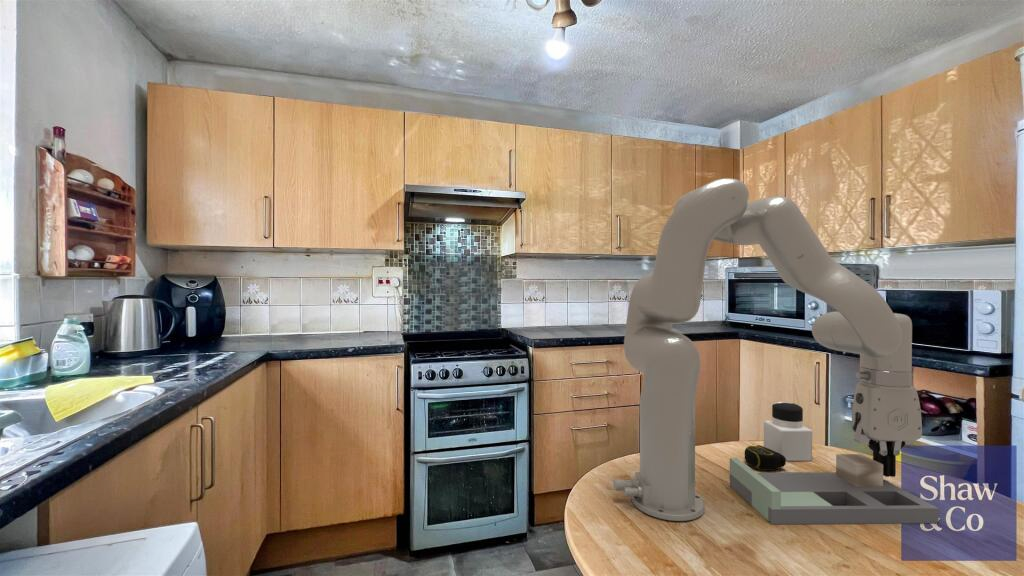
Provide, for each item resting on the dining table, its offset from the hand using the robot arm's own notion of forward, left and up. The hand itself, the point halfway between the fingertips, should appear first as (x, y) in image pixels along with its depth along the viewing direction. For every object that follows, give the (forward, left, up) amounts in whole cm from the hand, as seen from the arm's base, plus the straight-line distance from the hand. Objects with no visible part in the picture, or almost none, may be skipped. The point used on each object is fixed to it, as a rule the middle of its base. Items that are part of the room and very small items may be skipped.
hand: (884, 473), depth 84 cm
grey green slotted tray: (-14, -3, -4) cm, 15 cm away
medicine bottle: (-7, +19, -4) cm, 20 cm away
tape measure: (-16, +13, -4) cm, 21 cm away
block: (-5, 0, -1) cm, 5 cm away
